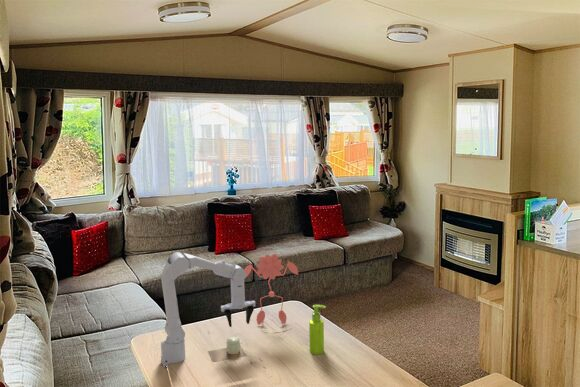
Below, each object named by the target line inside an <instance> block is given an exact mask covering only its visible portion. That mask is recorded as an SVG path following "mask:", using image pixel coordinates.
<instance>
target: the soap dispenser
mask: <svg viewBox="0 0 580 387" xmlns="http://www.w3.org/2000/svg"><path fill="white" fill-rule="evenodd" d="M326 307H327V306H326V305H323V304H312V308H313V312H312V313H311V319H310V320H309V323H308V324H309V327H308V329H309V330H308V331H309V353H310V354H312V355H322V354H323V353H324V352H325V346H324V344H325V343H324V342H325V340H324V339H325V334H324V330H325V329H324V325H325V324H324V321H325V320H323V319H321V312H319V309H323V310H325V309H326Z"/></svg>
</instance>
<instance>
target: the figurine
mask: <svg viewBox="0 0 580 387" xmlns="http://www.w3.org/2000/svg"><path fill="white" fill-rule="evenodd" d="M258 259H259V262H258V263H257V264H256V266H255V267H256V268H257V270H256V269H255V268H254V267H253V265H252V264H251V263H250V264H248V265H247V266H246V267H245V268H243V269H244V271H245V274H246V278H247V277H248V276H249V275H250V274H251V273H252V270H253V271H254V272H255V274H256V275H258V277H259V278H263V280H267V279H268V281H267V283H268V287H269V290H270V291H269V292H268V295H265V296H263V297H260V299H259V302H260V311H259V312H258V313H257V316H256V323H257V326H260V325H261V324H262V323H263V322H264V320H265V319H266V312H265V311H264V310H263V308H262V299H264V298H267V297H270V298H273V297H278V298H281V306H283V304H284V303H283V302H284V298H283V297H282V296H279V295H275V291H272V287H271V284H270V281H271V280H275V279H276V277H282V276H285V274H286V272H287V269H288V270H289V271H290V272H291V273H292V274H294V275H297V276H298V275H299V268H298V267H297V266H296V264H295V263H293V262H291V261H287V265H286V267H285V266H284V265H283V264H282V259H281V258H279V259H278V256H277V254H276V253H273V254H272V255H269V254H265V256H260V257H258ZM284 268H285V270H284V272H283V274H282V272H281V271H282V270H283V269H284ZM261 274H262V275H261ZM278 319H279V320H280V322H282V324H284V325H285V324H287V314H286V313H285V311H284V310H283V307H281V309H280V310H279V311H278ZM290 330H291V328H289V329H287V330H283V331H282V333H284V332H287V331H290ZM263 333H265V334H266V333H267V331H266V332H264V331H263ZM276 333H277V334H278V333H280V331H278V332H275V334H276Z"/></svg>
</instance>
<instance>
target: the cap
mask: <svg viewBox="0 0 580 387" xmlns="http://www.w3.org/2000/svg"><path fill="white" fill-rule="evenodd" d="M225 343H226V348H227V352H228V353H229V354H237V353H239V352H240V345H241V341H240V338H239V337H237V336H231V337H228V338H227V339H226V342H225Z"/></svg>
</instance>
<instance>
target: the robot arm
mask: <svg viewBox="0 0 580 387" xmlns="http://www.w3.org/2000/svg"><path fill="white" fill-rule="evenodd" d="M165 262H166V263H165V264H164V267H163V269H162V272H161V274H160V279H161V288H162V294H163V299H164V309H165V314H166V319H165V326H164V332H165V333H166V335H167V336H166V338H165V340H164V341H160V352H161V356H160V357H161V358H160V359H161V362H162V366H163V367H164V368H166V367H165V366H167V365H168V364H177V363H180V362H183V361H185V360H186V345H185V344H186V343H185V337H186V332H185V330H184V329H183V326H182V322H181V319H180V313H179V312H180V311H179V306H178V298H177V291H176V285H175V283H176V282H175V280H176V279H177V278H178V277H180V276H181V275H182V274H184V273H186V272H187V271H188V269H190V270H193V269H194V268H195V267H197V268H201V269H206V270H211V271H213V274H215V275H217V276H221V277H223V278H227V279H230V299H231V303H227V304H224V305H220V311H221V312H222V313H224V315H225V317H226V320H227V322H228V327H230V328H232V325H233V324H232V312H231V310H240V309H241V310H242V309H244V308H245V318H246V319H245V321H246V322H245V323H246V325H249V324H250V321H251V317H252V314H253V312H254V311H255V308H254V307H256V301H255V300H246V294H245V289H246V288H245V280H246V278H247V277H246V274H245V271H244V269H245V268H243V267H241V265H238V264H235V263H228V262H226V260H224V259H221V260H217V261H215V262H214V261H211V260H207V259H205V258H202V257H199V256H195V255H193V254H191V253H190V254H189V253H185V252H180V251H174V252H173V253H171V254H170V255H169V256H168V257H167V259H166V261H165Z"/></svg>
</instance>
